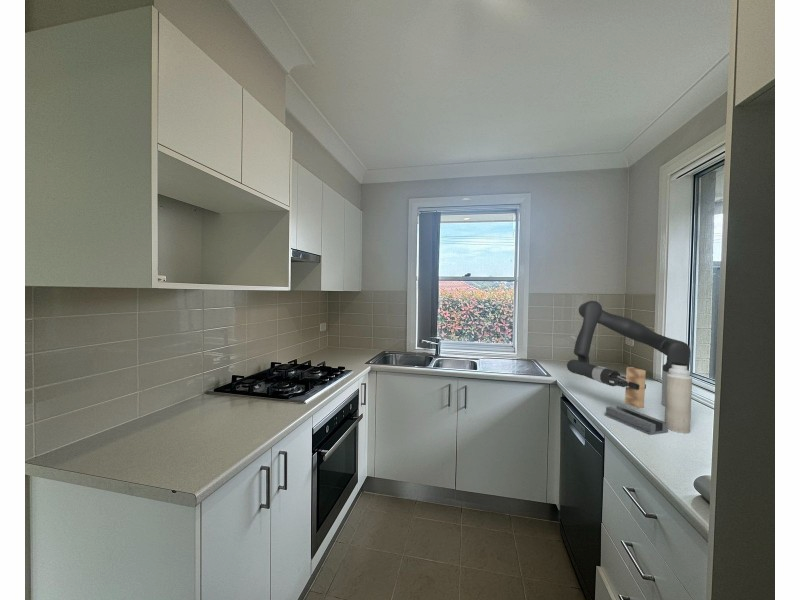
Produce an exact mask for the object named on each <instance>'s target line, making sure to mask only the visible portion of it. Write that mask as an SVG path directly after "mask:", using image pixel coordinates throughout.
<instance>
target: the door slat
mask: <svg viewBox="0 0 800 600" xmlns="http://www.w3.org/2000/svg"><path fill="white" fill-rule="evenodd" d="M646 373H647V371H646V370H644V369H641V368H636V367H634V366H627V367H626V374H625V376H626V381H630V382H632V383H636V384H639V386H640V387H639V390H637V389H634V388H631V387H625V392H624V404H626V405H628V406H631V407H633V408H636V409H644V408H645V396H646V395H645V393H646V392H645V391H646V389H645V384H646Z"/></svg>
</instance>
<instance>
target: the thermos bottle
mask: <svg viewBox="0 0 800 600" xmlns="http://www.w3.org/2000/svg"><path fill="white" fill-rule="evenodd" d="M671 363H672V368H670V369H669V371H668V372H669V373H668V374H666V399H665V406H664V408H665V409H664V422H666V423H667V430H668V431H669V430H670V431H672V432H675V433H680V434H689V432H690V433H691V420H692V419H691V416H692V415H691V413H692V409H691V407H692V393H693V391H692V389H693V388H692V387H693V377H692V376H691V372H690V370H689V369H688V370H687V363H684V362H676V361H673V362H671Z"/></svg>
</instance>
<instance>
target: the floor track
mask: <svg viewBox="0 0 800 600" xmlns="http://www.w3.org/2000/svg"><path fill="white" fill-rule="evenodd" d="M604 416H605V417H608V418H610V419H612V420H614V421H616V422H618V423H621V424H624V425H625V426H628V427H630V428H632V429H634V430H637V431H639V432H641V433H644V434H646V435H648V436H651V435H660V434H667V433H669V429H667V423H666V422H665V420H661V419H658V418H656V417H653V416H650V415H647V414H646V413H642V412H639V411H638V410H635V409H632V408H629V407H626V406H624V405H622V404H621V405H620V404H619V405H616V408H615V407H613V406H612V405H611V406H606V407H605V413H604Z"/></svg>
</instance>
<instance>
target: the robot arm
mask: <svg viewBox="0 0 800 600" xmlns="http://www.w3.org/2000/svg"><path fill="white" fill-rule="evenodd" d="M578 314H579V315H580V316H581V317H582V318H583V321H582V325H581V327H580V330H579V332H578V335H577V337H576V340H575V344H574V348H573V354H574V355H575V356H576V357H577V359H570V360H569V361H568V362H567V363H566V368H567V370H568V371H569V372H570V373H572V374H575V375H578V376H583V377H586V378H589V379H591V380H594V381H596V382H598V383H601V384H604V385H606V386H610V387H616V386H617V387H622V388H626V387H631V388H634V389H637V390H639V387H640V386H639V384H636V383H632V382H630V381H626V375H621V373H620V372H619V371H618V370H615V369H613V368H608V367H605V366H599V365H596V364H591V363H590V351H591V346H592V342H593V338H594V337H593V336H594V334H595V331H596V327H597V324H600V325H602V326H604V327H605V328H607V329H610V330H611V331H614V332H616V333H617V334H620V335H621V336H624V337H625V338H628V339H630V340H633V341H636V342H639V343H641V344H644V345H646V346H649V347H651V348H653V349H655V350H656V351H658V352H660V353H661V354H663V355H664V356H666V362H665V364H663V365H662V374H661V376H662V377H661V380H662V382H661V401H660V402H661V405H662V406H664V407H665V399H666V374H668V373H669V372H668V371H669V369H670V368H672V363H671V362H673V361H676V362H684V363H687V370H688V371H689V368H690V364H691V348H690V346H689V344H687V343H686V342H684V341H682V340H678V339H675V338H671V337H667V336H665V335H662V334H659V333H657V332H656V331H654V330H652V329H650V328H649V327H648V326H646V325H644V324H643V323H640V322H639V321H637V320H633V319H632V318H629V317H626V316H621V315H617V314H613V313H610V312H608V311H605V310H604V309H603V306H602V304H601V303H599V302H598V301H596V300H588V301H586V302H584V303H582V304H580V306H579V307H578ZM645 390H647V384H646V383H645Z"/></svg>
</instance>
